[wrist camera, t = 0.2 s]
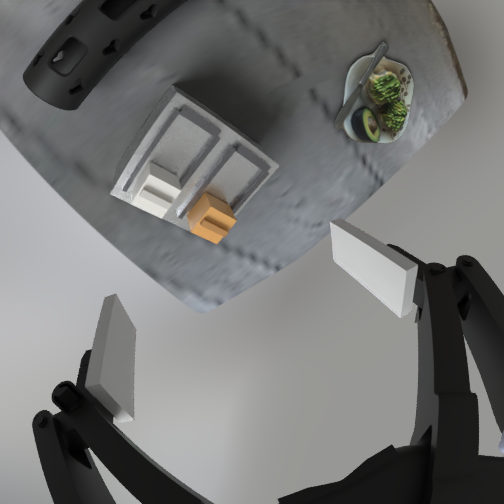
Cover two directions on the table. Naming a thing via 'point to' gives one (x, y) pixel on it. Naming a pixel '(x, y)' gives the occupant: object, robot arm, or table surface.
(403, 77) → the salad plate
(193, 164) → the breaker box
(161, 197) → the toggle white
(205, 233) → the toggle orange
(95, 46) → the muzzle brake
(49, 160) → the table surface
